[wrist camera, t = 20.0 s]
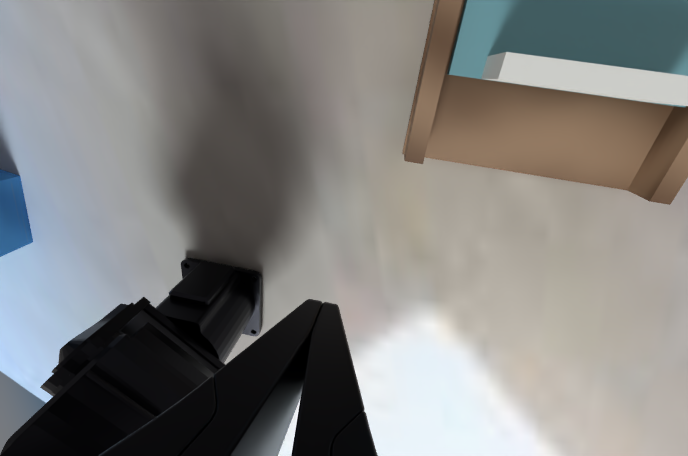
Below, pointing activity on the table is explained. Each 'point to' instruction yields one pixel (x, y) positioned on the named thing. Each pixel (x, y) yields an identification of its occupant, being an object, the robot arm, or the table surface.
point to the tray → (578, 46)
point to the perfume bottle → (13, 214)
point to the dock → (542, 126)
